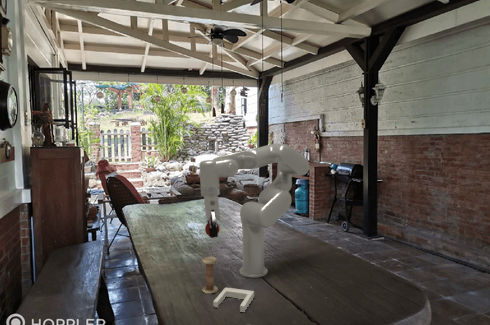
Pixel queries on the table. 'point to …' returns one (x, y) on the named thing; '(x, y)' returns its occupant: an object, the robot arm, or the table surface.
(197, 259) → the table surface
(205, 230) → the pomegranate
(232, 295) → the notched board
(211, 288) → the spool
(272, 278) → the table surface
